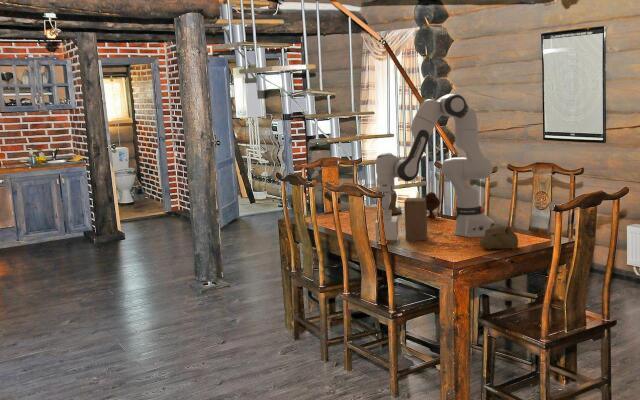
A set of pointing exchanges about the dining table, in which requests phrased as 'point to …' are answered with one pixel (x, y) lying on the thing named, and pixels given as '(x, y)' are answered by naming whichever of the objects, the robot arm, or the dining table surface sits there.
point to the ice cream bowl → (431, 203)
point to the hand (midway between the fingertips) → (386, 213)
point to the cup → (388, 226)
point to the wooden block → (415, 218)
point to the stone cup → (394, 204)
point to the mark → (396, 241)
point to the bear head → (499, 238)
